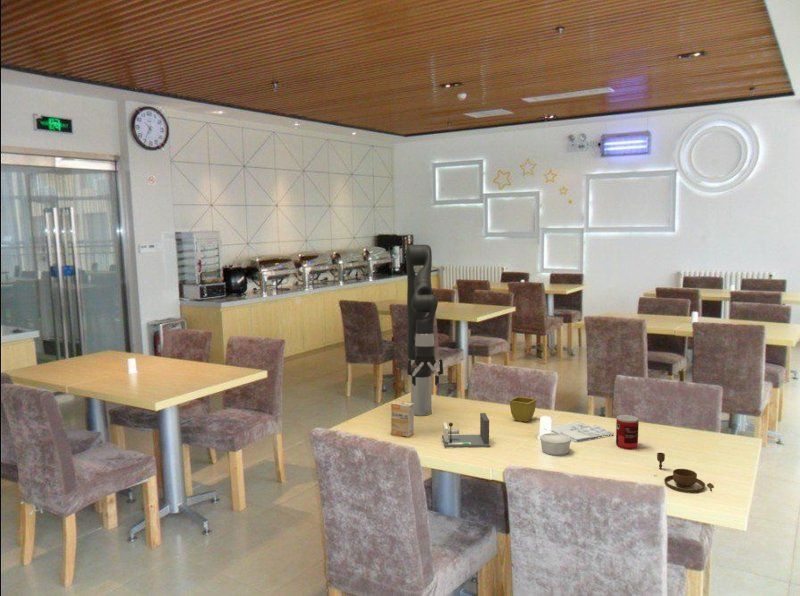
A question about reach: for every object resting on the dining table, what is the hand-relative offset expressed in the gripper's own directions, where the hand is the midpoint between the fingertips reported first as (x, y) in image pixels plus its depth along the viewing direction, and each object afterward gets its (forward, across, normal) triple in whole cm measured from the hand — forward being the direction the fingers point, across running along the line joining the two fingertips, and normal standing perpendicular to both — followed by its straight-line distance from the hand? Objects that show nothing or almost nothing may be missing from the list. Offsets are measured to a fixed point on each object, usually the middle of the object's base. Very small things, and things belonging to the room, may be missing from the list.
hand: (425, 385), depth 258 cm
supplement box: (+20, +9, -2) cm, 22 cm away
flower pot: (+19, -43, -18) cm, 50 cm away
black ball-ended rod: (+20, -9, +14) cm, 26 cm away
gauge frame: (+21, -15, +9) cm, 27 cm away
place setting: (+25, -80, +51) cm, 98 cm away
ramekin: (+22, -47, +21) cm, 56 cm away
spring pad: (+19, -9, +9) cm, 23 cm away
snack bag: (+21, -62, -1) cm, 65 cm away
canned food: (+22, -75, +17) cm, 80 cm away
